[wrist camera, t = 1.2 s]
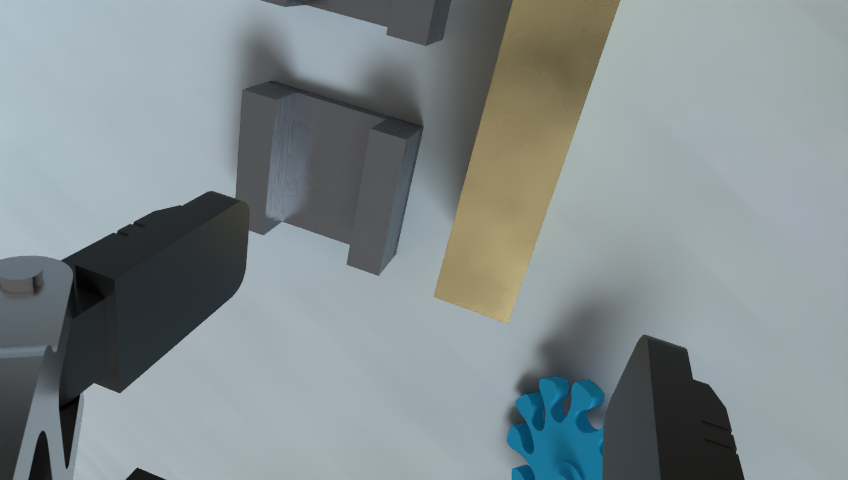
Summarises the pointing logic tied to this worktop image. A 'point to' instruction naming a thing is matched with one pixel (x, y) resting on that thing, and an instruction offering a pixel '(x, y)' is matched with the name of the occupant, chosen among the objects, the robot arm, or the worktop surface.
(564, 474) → the gear
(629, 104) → the worktop surface
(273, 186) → the grey u-channel block
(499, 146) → the link bar
